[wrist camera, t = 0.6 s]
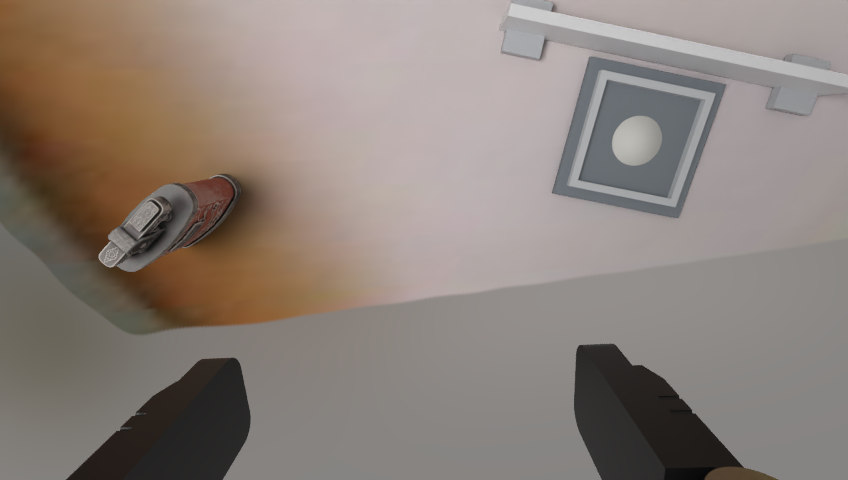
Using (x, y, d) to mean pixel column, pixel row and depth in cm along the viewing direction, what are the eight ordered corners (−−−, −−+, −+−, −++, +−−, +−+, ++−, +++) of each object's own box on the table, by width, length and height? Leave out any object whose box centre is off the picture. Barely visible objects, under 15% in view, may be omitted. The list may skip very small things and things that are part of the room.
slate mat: (589, 57, 33) (594, 55, 32) (722, 85, 33) (731, 83, 32) (552, 192, 35) (555, 194, 34) (675, 217, 36) (682, 219, 35)
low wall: (506, -4, 32) (516, -23, 28) (828, 64, 32) (881, 55, 29) (494, 51, 33) (502, 40, 29) (806, 116, 33) (855, 114, 30)
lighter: (192, 253, 38) (108, 294, 28) (163, 227, 37) (67, 259, 27) (249, 193, 36) (182, 215, 26) (220, 164, 36) (140, 176, 26)
